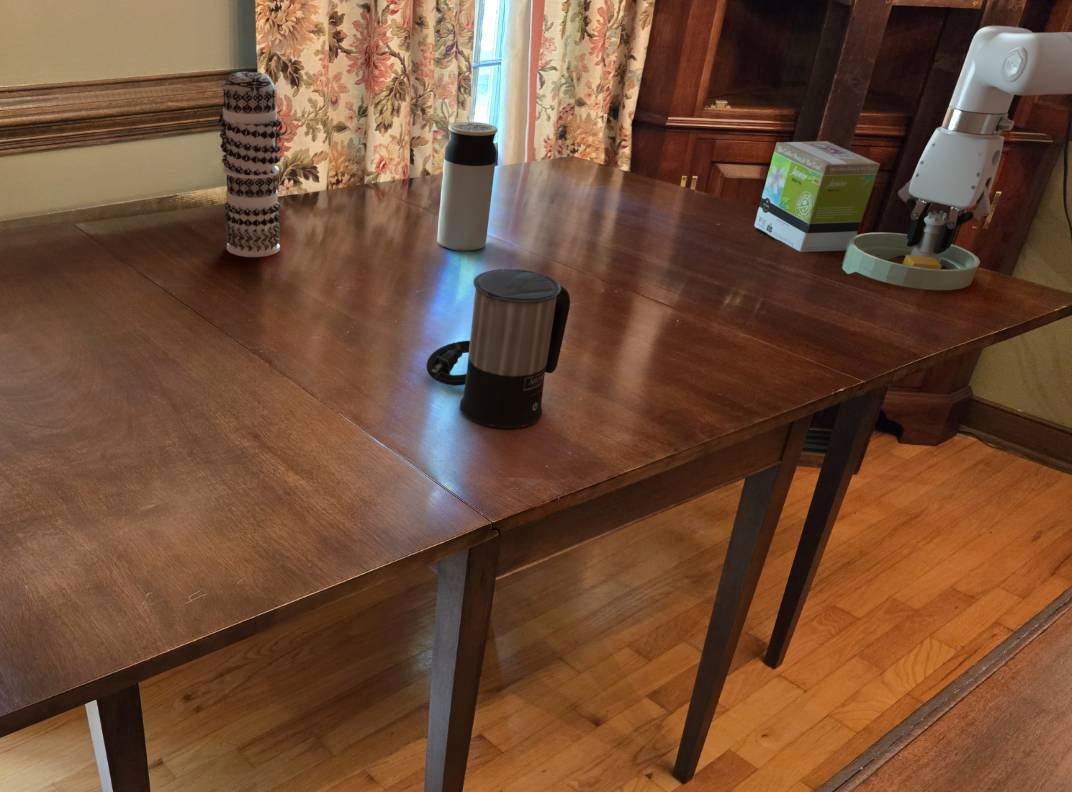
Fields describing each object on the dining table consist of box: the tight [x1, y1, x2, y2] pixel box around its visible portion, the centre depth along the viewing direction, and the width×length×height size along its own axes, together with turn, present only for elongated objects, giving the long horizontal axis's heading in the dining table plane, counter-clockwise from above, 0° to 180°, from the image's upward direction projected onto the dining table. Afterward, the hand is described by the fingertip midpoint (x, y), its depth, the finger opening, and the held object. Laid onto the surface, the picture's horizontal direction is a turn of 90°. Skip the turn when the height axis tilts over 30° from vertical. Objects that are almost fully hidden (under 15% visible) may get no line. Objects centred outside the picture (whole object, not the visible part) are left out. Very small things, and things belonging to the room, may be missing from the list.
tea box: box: [754, 140, 881, 253], centre depth 161 cm, size 15×10×15 cm, turn 11°
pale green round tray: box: [841, 232, 981, 291], centre depth 149 cm, size 18×18×4 cm
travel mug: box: [436, 121, 498, 252], centre depth 152 cm, size 8×8×18 cm
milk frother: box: [426, 268, 571, 429], centre depth 107 cm, size 14×16×15 cm
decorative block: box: [902, 255, 943, 270], centre depth 145 cm, size 4×4×4 cm
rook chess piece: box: [911, 209, 948, 263], centre depth 149 cm, size 4×4×8 cm
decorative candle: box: [217, 71, 283, 258], centre depth 144 cm, size 9×9×25 cm
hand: (926, 247), depth 150 cm, fingers closed on rook chess piece, 3 cm apart
